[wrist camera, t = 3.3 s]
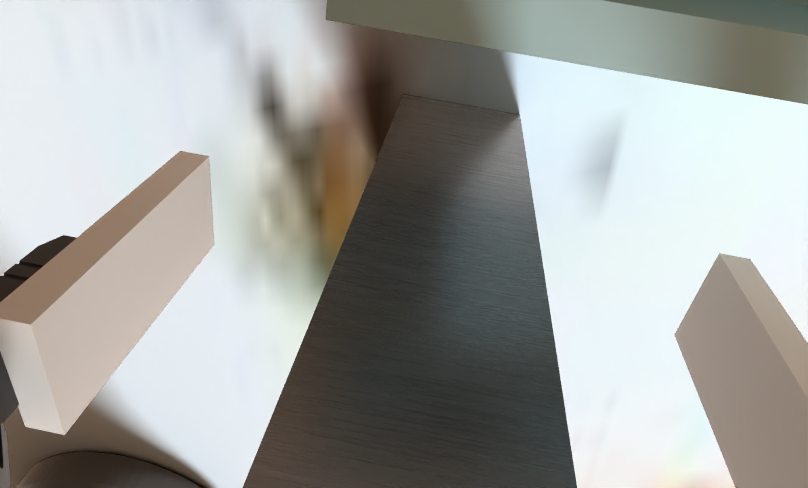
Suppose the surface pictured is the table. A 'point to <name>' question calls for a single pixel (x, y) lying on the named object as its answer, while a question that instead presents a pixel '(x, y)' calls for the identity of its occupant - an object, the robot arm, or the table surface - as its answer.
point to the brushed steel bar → (430, 326)
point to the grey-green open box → (622, 35)
